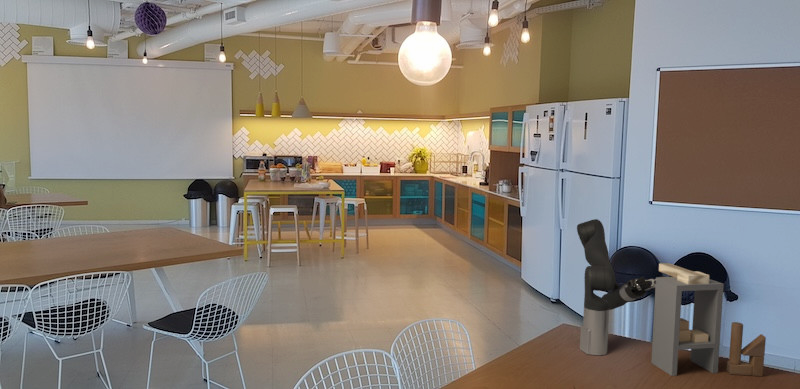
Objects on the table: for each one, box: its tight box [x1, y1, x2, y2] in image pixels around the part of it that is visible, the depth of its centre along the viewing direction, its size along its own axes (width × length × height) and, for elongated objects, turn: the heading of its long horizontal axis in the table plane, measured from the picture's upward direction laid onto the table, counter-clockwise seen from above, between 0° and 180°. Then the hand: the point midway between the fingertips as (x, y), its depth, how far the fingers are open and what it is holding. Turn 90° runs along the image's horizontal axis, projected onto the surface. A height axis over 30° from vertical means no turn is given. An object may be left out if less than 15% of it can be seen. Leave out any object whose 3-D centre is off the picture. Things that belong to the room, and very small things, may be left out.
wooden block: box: [726, 321, 767, 377], centre depth 210 cm, size 4×11×18 cm, turn 82°
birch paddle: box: [658, 262, 710, 284], centre depth 217 cm, size 8×20×3 cm, turn 10°
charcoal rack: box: [650, 276, 725, 377], centre depth 214 cm, size 18×12×32 cm, turn 100°
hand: (654, 279), depth 233 cm, fingers open, 8 cm apart
